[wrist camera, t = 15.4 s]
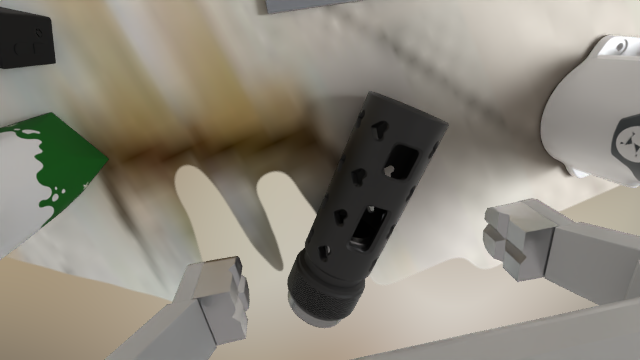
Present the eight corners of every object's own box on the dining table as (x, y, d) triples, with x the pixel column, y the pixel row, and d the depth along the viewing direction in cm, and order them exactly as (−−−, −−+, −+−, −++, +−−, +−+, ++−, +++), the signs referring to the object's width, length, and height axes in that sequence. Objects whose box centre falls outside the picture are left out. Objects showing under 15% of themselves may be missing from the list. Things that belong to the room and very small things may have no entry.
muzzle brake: (424, 111, 39) (470, 133, 30) (339, 281, 49) (354, 338, 39) (355, 83, 37) (383, 98, 28) (281, 268, 46) (282, 326, 37)
